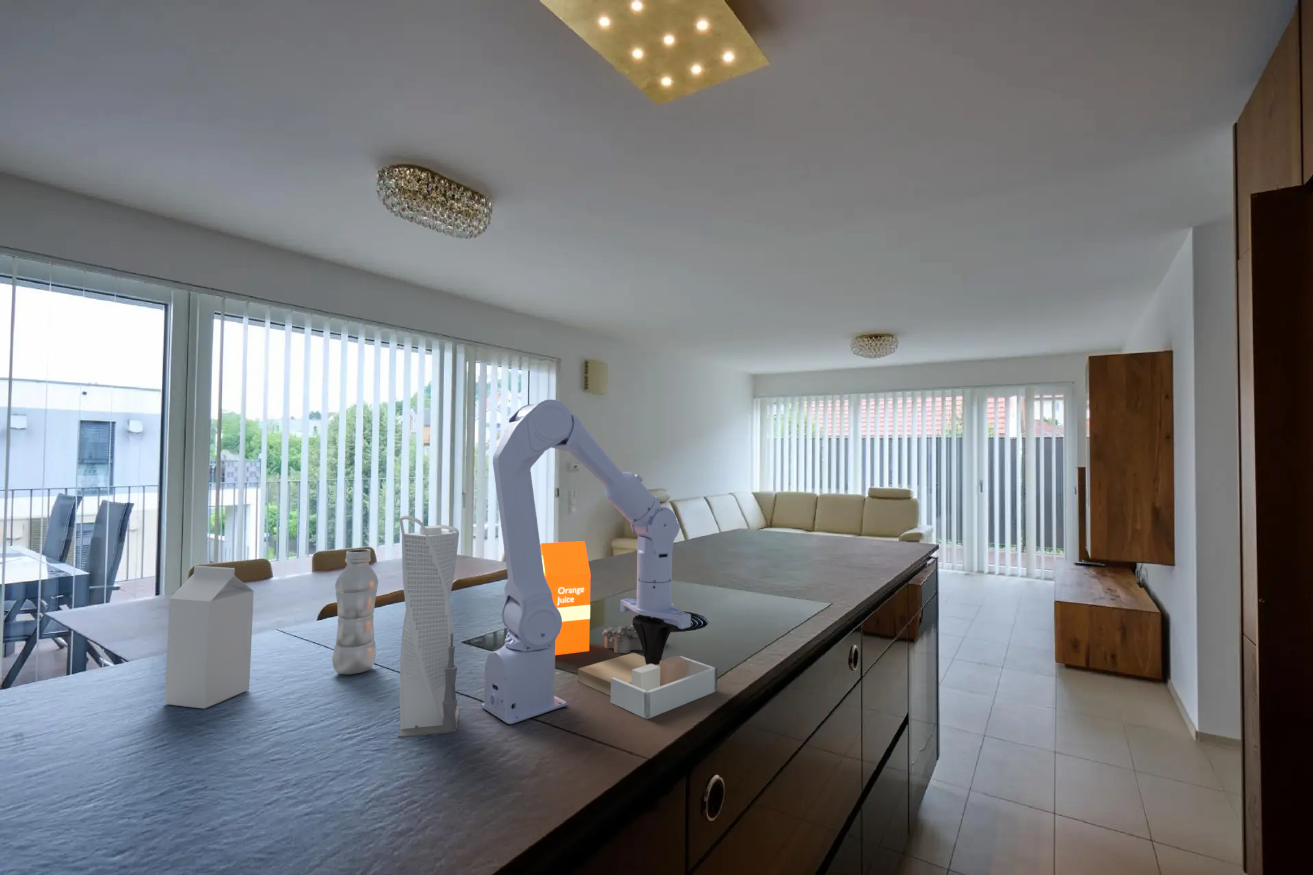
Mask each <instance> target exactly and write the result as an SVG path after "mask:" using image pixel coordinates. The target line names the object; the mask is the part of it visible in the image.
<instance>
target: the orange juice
mask: <svg viewBox="0 0 1313 875" xmlns="http://www.w3.org/2000/svg"><path fill="white" fill-rule="evenodd" d="M540 547H541V555H542V563H543V570H544V576H545V579H546V581H547V583H548V585H549V587H550V590H551V592H552V599H553V602H554V605H555V606H556V608H557V609H558V610H559V612H560V614H561V617H562V627H561V631H560V633H559V635H558V637H557V638H556V639H555V656H558V655H560V656H561V655H569V654H574V653H575V654H576V653H584V652H589V651H590V630H591V629H590V626H591V624H590V622H591V621H590V620H591V578H592V577H591V569H590V565H589V564H590V563H589V558H588V553H587V546H586V541H584V540H583V541H581V540H580V541H565V542H564V541H562V542H561V541H560V542H559V541H558V542H542V543H541V542H540Z"/></svg>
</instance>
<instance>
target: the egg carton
mask: <svg viewBox="0 0 1313 875" xmlns="http://www.w3.org/2000/svg"><path fill="white" fill-rule="evenodd" d="M601 635H604V648H605V649H613V652H614V653H615V654H619V653H621V654H622V653H623V654H630V653H631V651H632V650H634V651H636V650H637V651H643V649H642V645H641V642H640V639H639V636H638V634H637V632H636V630H635V628H634V627H633V623H632V624H631V625H630V624H629V623H627V624H625V625H623V626H621V625H620V626H618V627H611V626H607V627H605V628H604V630H603V631H602V632H601Z"/></svg>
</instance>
